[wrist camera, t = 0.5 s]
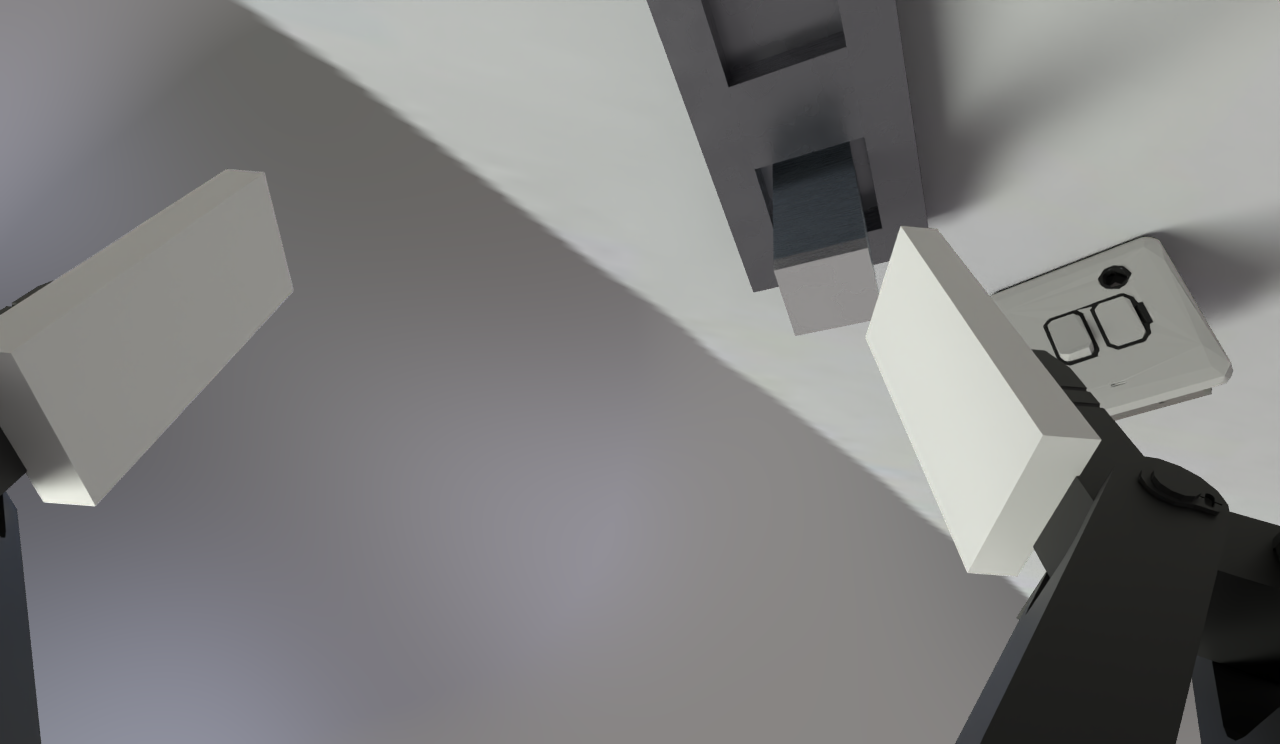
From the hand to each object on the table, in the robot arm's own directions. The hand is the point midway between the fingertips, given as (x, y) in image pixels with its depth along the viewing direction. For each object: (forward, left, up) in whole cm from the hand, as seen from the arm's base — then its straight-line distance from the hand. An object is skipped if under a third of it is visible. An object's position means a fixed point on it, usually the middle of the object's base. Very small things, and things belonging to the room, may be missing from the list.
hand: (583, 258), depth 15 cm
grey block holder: (-3, +8, -24) cm, 26 cm away
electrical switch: (-16, +26, -24) cm, 39 cm away
